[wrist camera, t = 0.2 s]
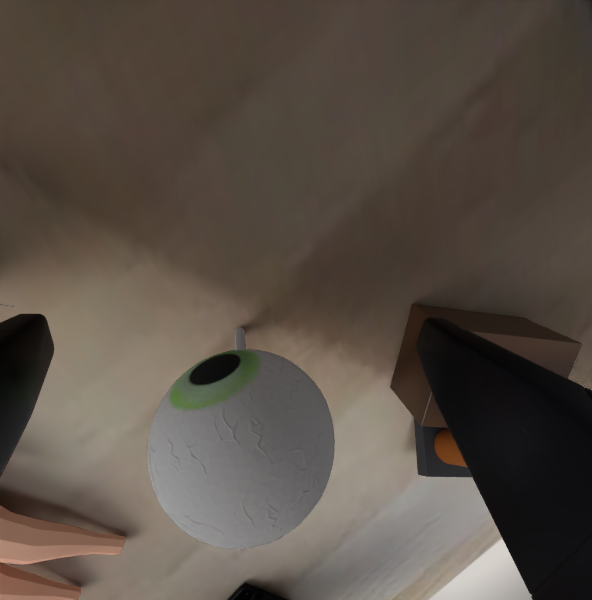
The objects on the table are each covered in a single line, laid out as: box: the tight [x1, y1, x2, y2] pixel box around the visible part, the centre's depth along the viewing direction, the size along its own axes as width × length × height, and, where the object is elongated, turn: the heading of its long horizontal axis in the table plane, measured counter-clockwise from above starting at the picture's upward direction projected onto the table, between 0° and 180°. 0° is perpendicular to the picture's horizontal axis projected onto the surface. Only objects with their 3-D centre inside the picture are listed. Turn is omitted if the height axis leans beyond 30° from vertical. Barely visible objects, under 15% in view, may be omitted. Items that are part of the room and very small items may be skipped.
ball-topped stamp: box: [414, 418, 472, 477], centre depth 25 cm, size 8×4×10 cm, turn 170°
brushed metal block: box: [390, 304, 582, 427], centre depth 26 cm, size 7×10×5 cm
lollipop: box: [147, 327, 335, 549], centre depth 18 cm, size 7×7×15 cm
